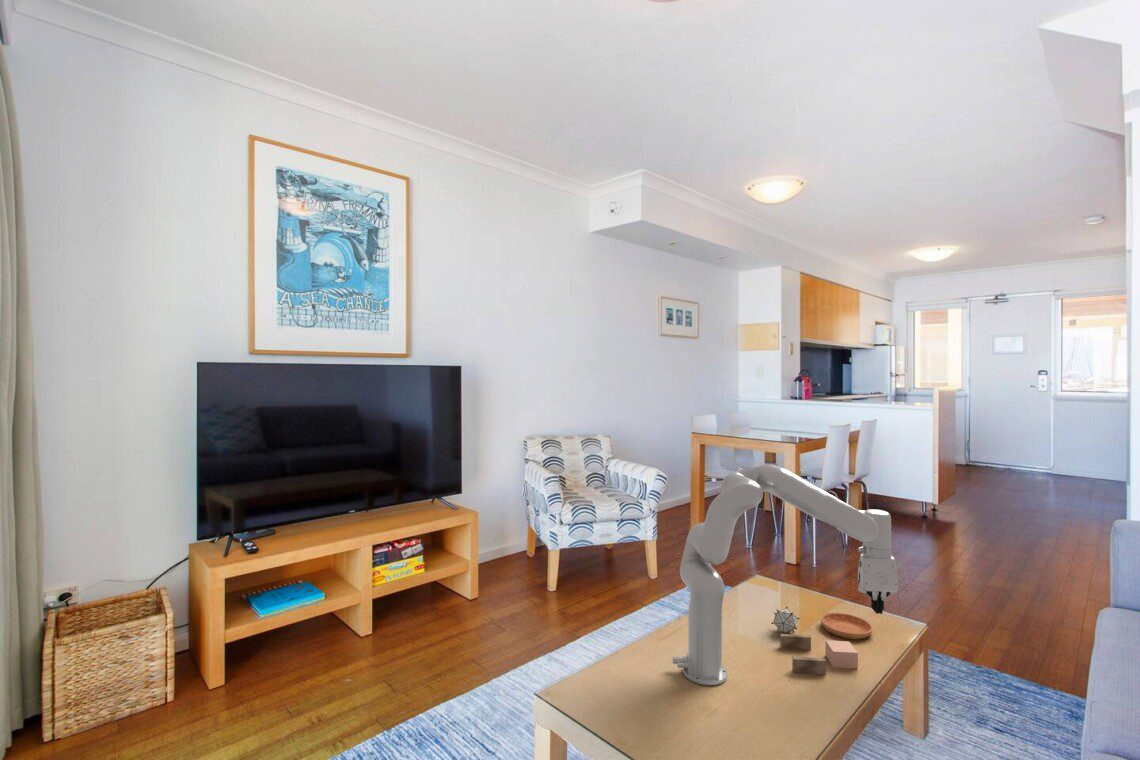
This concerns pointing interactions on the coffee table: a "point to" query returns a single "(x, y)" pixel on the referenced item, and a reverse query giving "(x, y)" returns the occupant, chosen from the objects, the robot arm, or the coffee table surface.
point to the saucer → (846, 625)
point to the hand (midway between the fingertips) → (877, 611)
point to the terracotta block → (841, 654)
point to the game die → (785, 620)
